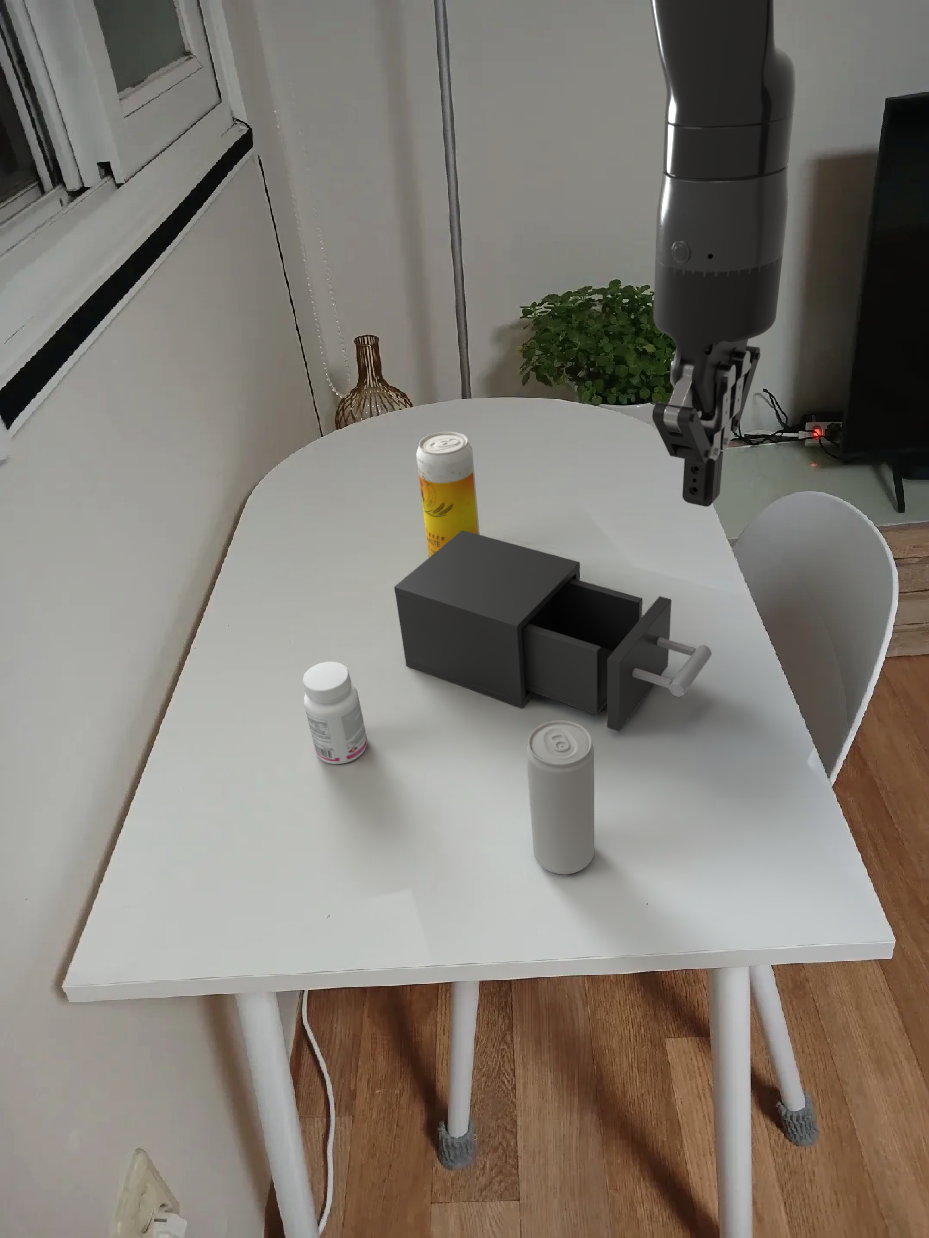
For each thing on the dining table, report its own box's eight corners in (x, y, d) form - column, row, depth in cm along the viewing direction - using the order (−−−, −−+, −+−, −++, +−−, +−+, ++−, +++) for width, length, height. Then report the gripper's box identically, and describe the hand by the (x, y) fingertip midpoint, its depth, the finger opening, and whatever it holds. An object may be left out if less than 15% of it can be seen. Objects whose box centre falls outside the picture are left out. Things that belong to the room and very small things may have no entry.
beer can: (423, 553, 113) (409, 436, 104) (472, 541, 114) (462, 425, 105) (437, 579, 108) (423, 459, 99) (488, 567, 109) (478, 447, 100)
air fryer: (581, 641, 96) (580, 561, 91) (522, 708, 89) (516, 626, 83) (469, 606, 103) (462, 529, 97) (405, 665, 96) (393, 586, 90)
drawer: (717, 682, 88) (723, 613, 84) (670, 750, 82) (675, 680, 77) (553, 630, 97) (551, 565, 92) (499, 688, 90) (493, 622, 86)
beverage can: (544, 885, 72) (538, 772, 65) (524, 839, 76) (517, 728, 69) (604, 868, 73) (604, 755, 66) (581, 823, 77) (579, 712, 70)
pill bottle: (363, 724, 89) (349, 653, 84) (372, 758, 85) (358, 686, 80) (312, 736, 88) (295, 665, 83) (319, 771, 84) (301, 698, 79)
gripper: (738, 287, 52) (715, 557, 62) (815, 224, 60) (784, 471, 70) (613, 274, 55) (610, 531, 65) (702, 217, 64) (688, 452, 74)
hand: (700, 499), depth 68 cm, fingers closed
